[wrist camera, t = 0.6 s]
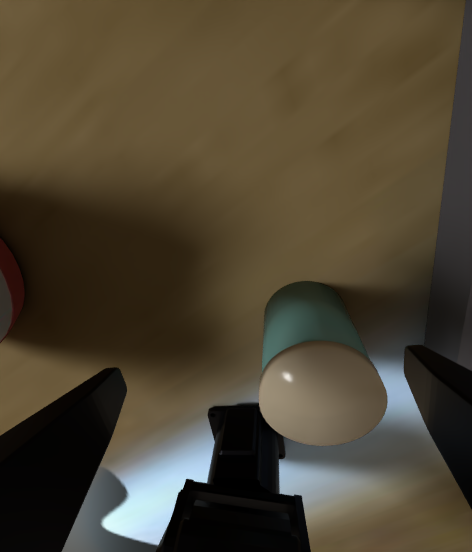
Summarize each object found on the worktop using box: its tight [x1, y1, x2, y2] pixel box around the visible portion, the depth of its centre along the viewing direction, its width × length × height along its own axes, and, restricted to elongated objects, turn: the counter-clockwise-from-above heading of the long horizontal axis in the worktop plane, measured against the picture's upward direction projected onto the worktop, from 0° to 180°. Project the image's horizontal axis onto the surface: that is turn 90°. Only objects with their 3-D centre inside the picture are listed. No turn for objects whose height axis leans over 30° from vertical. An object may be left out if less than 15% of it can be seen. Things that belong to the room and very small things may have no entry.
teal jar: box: [259, 281, 387, 446], centre depth 18 cm, size 6×6×8 cm
